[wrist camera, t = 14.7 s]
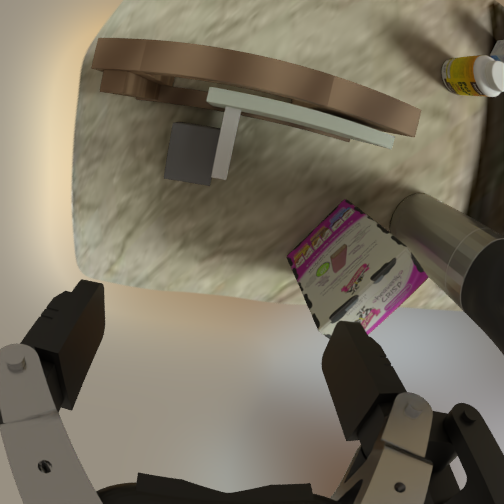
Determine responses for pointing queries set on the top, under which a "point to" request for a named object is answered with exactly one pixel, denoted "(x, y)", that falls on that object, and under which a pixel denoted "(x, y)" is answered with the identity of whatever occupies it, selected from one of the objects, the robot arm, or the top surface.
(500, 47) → the medicine box
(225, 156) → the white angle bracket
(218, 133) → the block
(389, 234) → the candy bar box
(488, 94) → the supplement bottle
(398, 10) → the top surface
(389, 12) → the top surface
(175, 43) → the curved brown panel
